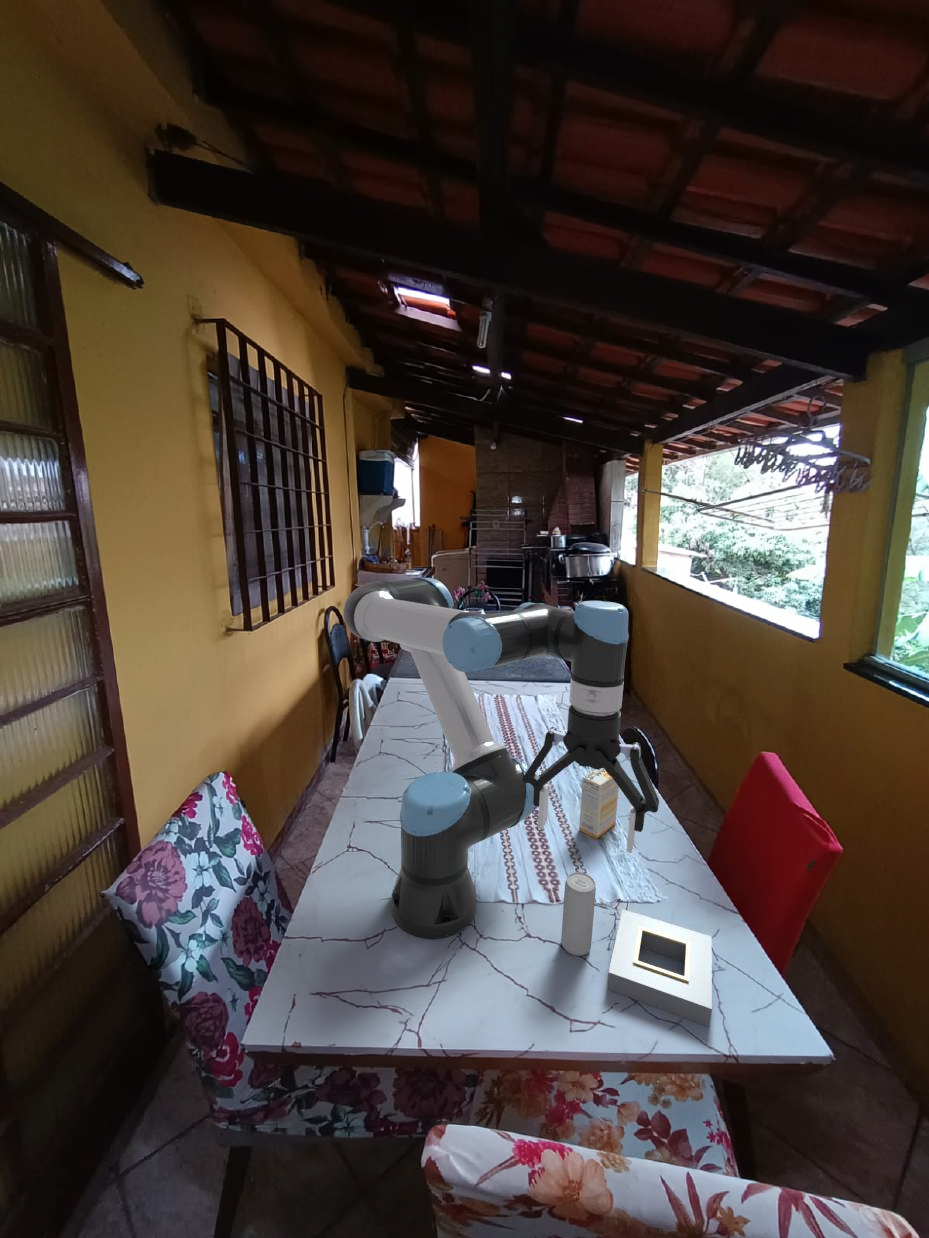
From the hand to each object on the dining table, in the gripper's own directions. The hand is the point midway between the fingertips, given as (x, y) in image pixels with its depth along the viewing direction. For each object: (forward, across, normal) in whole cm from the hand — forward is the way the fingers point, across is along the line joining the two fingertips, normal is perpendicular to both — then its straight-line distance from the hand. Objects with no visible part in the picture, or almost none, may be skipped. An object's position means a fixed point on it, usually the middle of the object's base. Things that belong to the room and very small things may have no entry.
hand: (584, 835), depth 84 cm
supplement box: (+20, -3, +35) cm, 41 cm away
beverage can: (+20, 0, 0) cm, 20 cm away
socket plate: (+20, +13, +1) cm, 24 cm away
